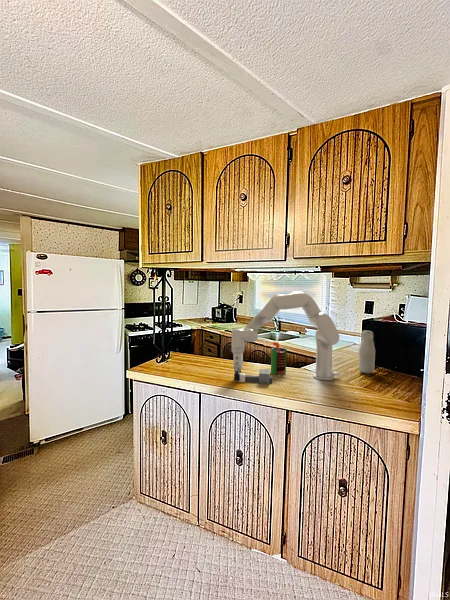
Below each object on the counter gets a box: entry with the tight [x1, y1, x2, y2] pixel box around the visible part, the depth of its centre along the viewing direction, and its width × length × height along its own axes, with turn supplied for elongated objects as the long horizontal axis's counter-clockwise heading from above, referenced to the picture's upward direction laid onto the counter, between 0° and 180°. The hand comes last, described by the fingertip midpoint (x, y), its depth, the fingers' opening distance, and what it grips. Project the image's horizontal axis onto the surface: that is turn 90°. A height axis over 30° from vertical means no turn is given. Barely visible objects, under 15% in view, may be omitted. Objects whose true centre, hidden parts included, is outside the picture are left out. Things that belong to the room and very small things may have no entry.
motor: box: [270, 341, 288, 376], centre depth 215 cm, size 10×9×20 cm
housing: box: [258, 368, 271, 386], centre depth 196 cm, size 6×10×6 cm, turn 172°
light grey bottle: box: [358, 330, 376, 375], centre depth 216 cm, size 10×10×28 cm
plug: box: [239, 372, 273, 384], centre depth 197 cm, size 22×4×4 cm, turn 82°
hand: (237, 378), depth 199 cm, fingers open, 7 cm apart
